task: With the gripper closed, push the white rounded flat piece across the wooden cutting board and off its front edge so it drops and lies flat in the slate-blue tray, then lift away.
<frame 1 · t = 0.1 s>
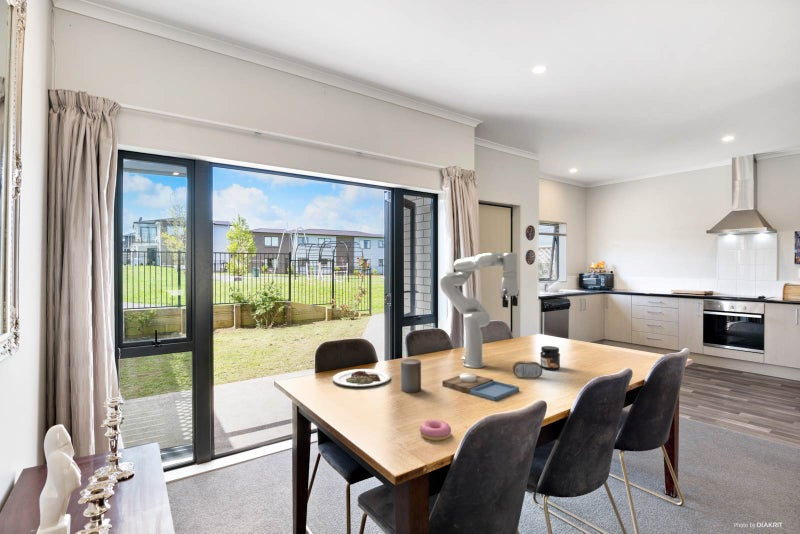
hand: (510, 306, 212), 37 cm above the table, tool pointing down, fingers open, 9 cm apart
wooden cutting board: (468, 385, 192), on the table
supplement container: (550, 368, 223), on the table
tin: (527, 378, 205), on the table
tray: (494, 392, 181), on the table
doughnut: (435, 436, 136), on the table
plated food: (361, 380, 202), on the table
pillar candle: (410, 390, 186), on the table
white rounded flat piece: (468, 377, 192), point 4 cm above the table, touching wooden cutting board
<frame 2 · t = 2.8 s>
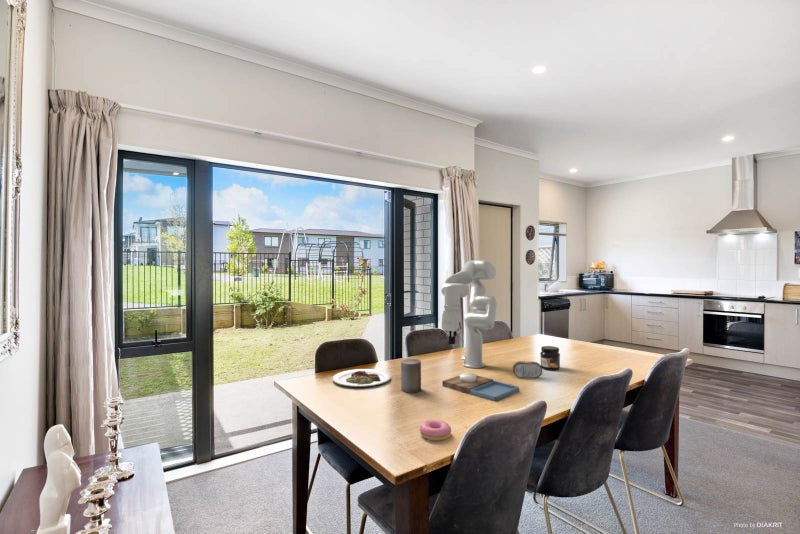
hand: (452, 343, 199), 19 cm above the table, tool pointing down, fingers closed
nothing on the table moved.
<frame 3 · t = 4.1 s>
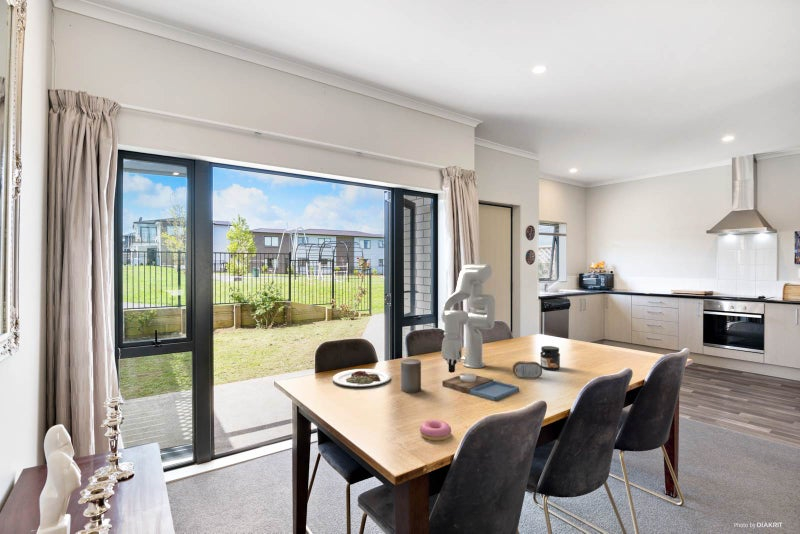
hand: (451, 372, 199), 5 cm above the table, tool pointing down, fingers closed
nothing on the table moved.
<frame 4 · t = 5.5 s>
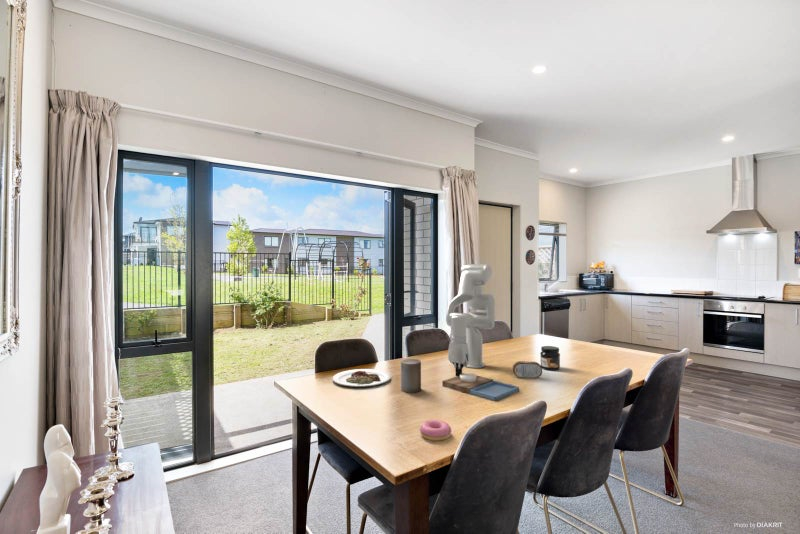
hand: (458, 375, 196), 4 cm above the table, tool pointing down, fingers closed
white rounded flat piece: (468, 377, 192), point 4 cm above the table, touching wooden cutting board, gripper
everything else where it was.
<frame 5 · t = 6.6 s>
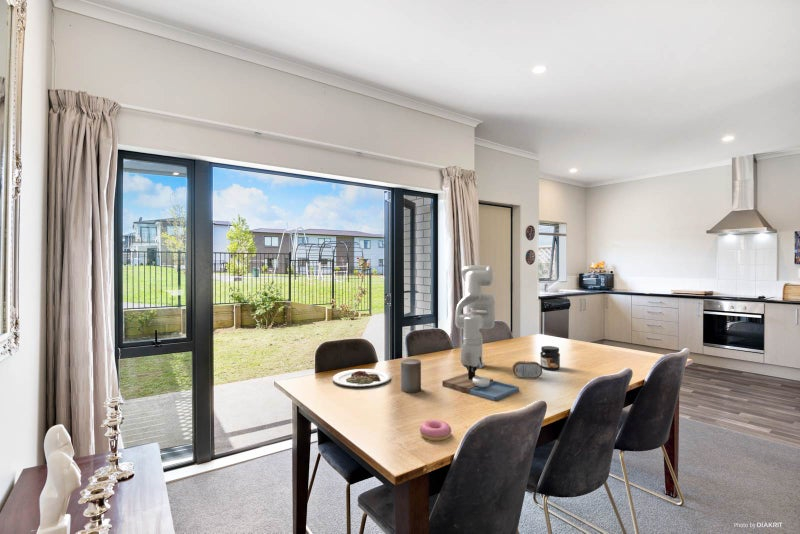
hand: (471, 378, 191), 4 cm above the table, tool pointing down, fingers closed
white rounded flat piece: (481, 381, 186), point 4 cm above the table, touching wooden cutting board, gripper
everything else where it was.
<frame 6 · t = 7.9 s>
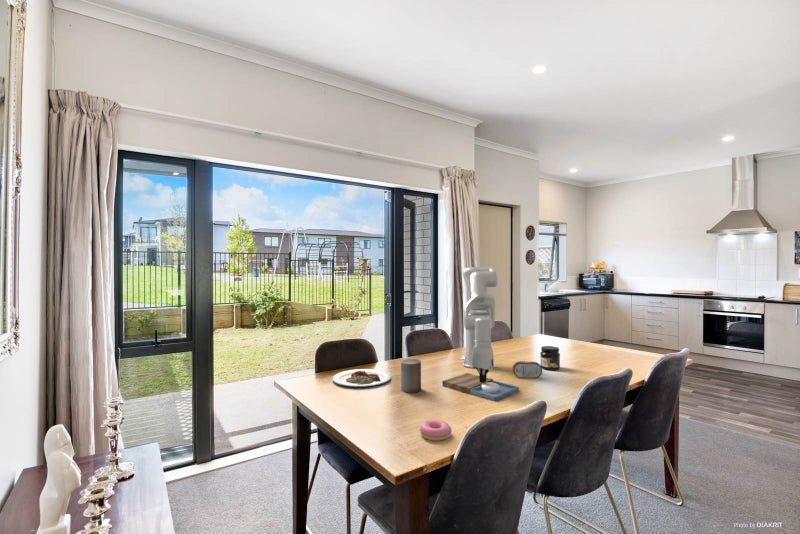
hand: (482, 381, 186), 4 cm above the table, tool pointing down, fingers closed
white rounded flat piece: (490, 387, 182), point 2 cm above the table, touching tray
everything else where it was.
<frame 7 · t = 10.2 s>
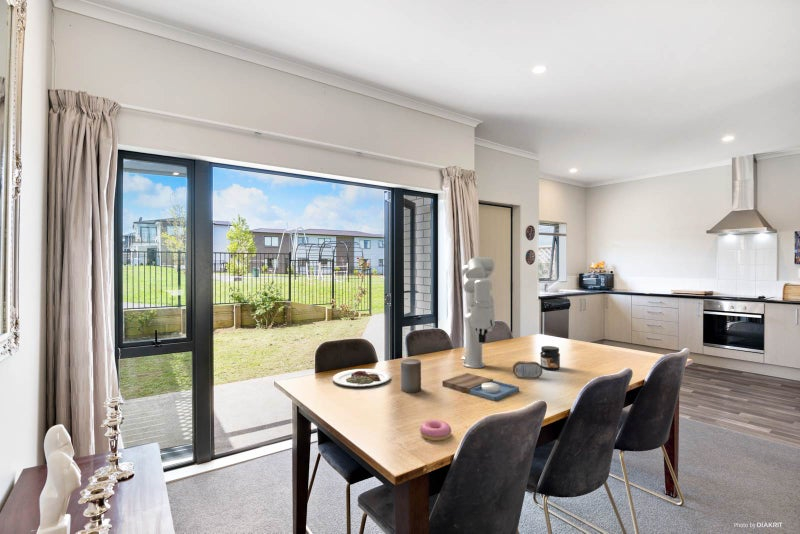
hand: (482, 342, 190), 22 cm above the table, tool pointing down, fingers closed
nothing on the table moved.
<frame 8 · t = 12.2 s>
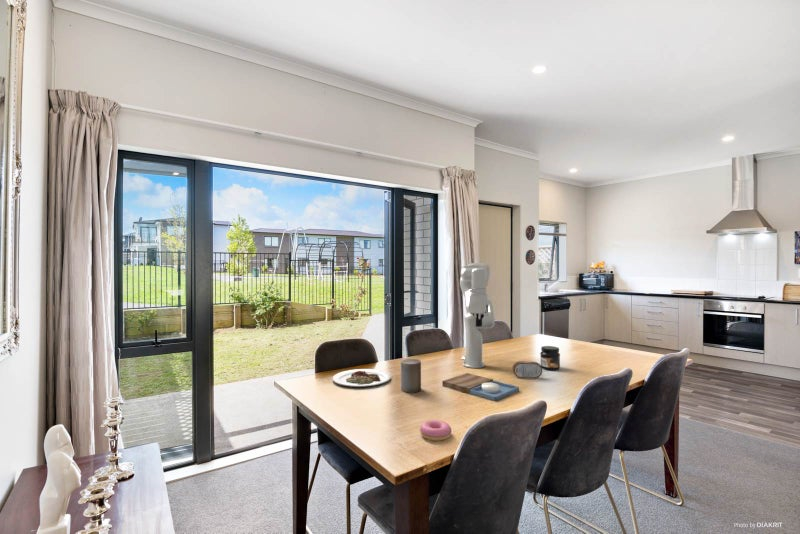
hand: (478, 326, 205), 27 cm above the table, tool pointing down, fingers closed
nothing on the table moved.
at the end: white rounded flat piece inside the target area on the tray (2.1 cm from its centre), point 1.8 cm above the tray's base; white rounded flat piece touching tray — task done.
